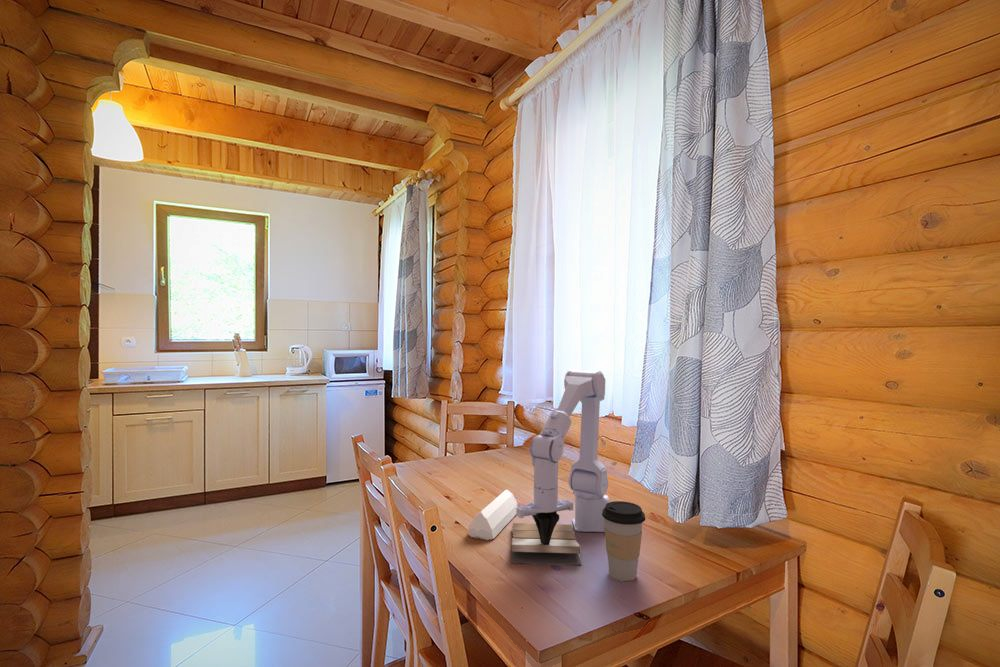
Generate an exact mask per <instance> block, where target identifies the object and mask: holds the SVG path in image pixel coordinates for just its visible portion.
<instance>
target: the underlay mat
mask: <svg viewBox="0 0 1000 667" xmlns="http://www.w3.org/2000/svg"><path fill="white" fill-rule="evenodd" d="M512 528H513V525H512V526H511V529H512ZM512 534H513V533H512V532H511V537H512V536H513V535H512ZM510 553H511V554H510V564H512V563H526V564H525V565H546V564H550V565H553V566H555V565H556V566H582V560H581V558H580V557H581V556H580V553H545V552H512V546H511V551H510ZM550 565H549V566H550Z"/></svg>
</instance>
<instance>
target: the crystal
mask: <svg viewBox="0 0 1000 667" xmlns="http://www.w3.org/2000/svg"><path fill="white" fill-rule="evenodd" d="M518 505H519V504H518V502H517V500H516V497H515V496H514V494H513V493H512V492H511V491H510V490H509V489H505V490H504V491H502V492H501V493H499V495H497V496H496V497H495V498H494V499H493V500H492V501H491V502H490V503H488V505H486V506H485V507H484V508H482V509H481V511H479V512H478V513H477V514H476V515H475V516H474V517H473V519H472V520H471V522H470V524H469V526H468V529H467V535H469V536H470V538H472V537H474V538H473V539H478V538H480V539H479V540H483V539H486V540H485V541H488V540H487V539H490V540H493V539H495V538H496V537H497V535H499V534H500V533H501V531H502V530H503V529H505V527H506V526H507V525H508V524H509V523H510V522H511V520H512V519H513V518H514V517H515V516H517V515H516V513H517V507H519V506H518ZM490 540H489V541H490Z"/></svg>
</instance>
